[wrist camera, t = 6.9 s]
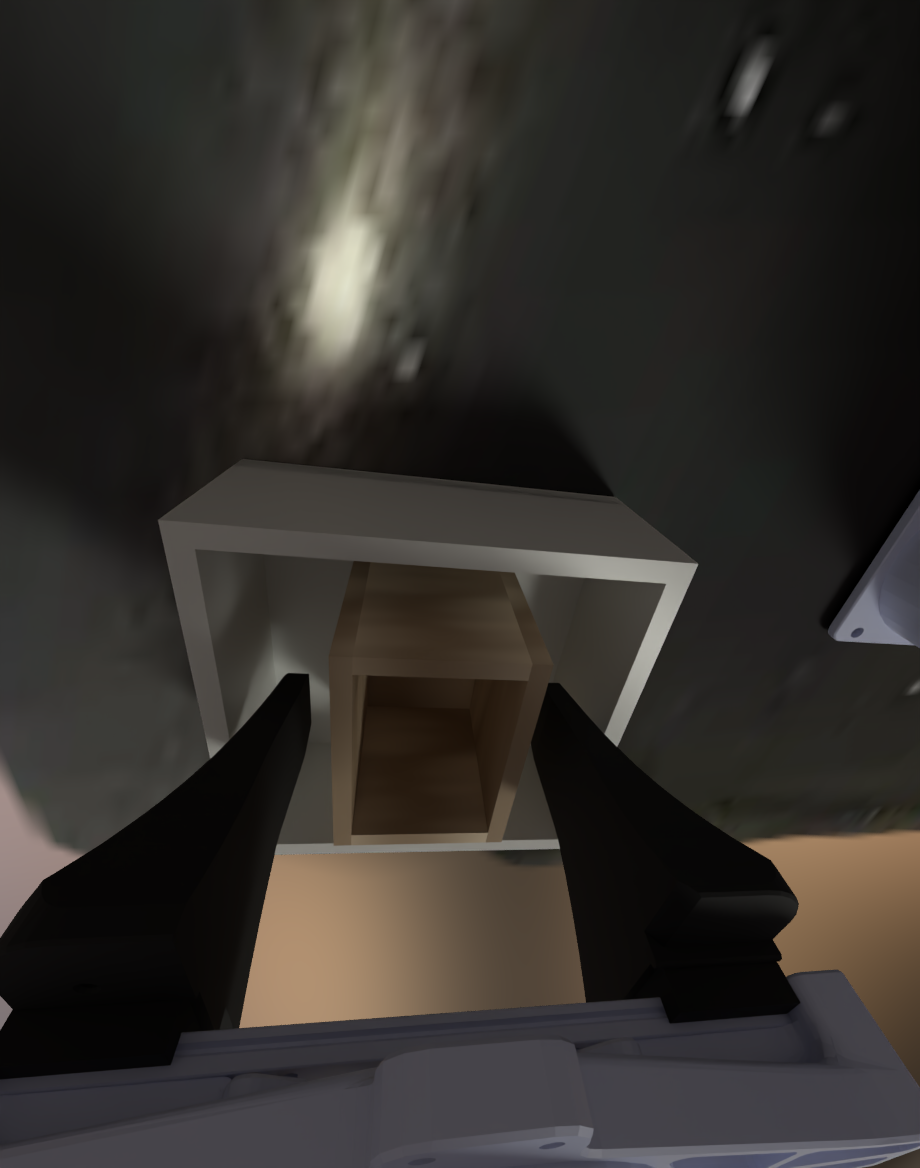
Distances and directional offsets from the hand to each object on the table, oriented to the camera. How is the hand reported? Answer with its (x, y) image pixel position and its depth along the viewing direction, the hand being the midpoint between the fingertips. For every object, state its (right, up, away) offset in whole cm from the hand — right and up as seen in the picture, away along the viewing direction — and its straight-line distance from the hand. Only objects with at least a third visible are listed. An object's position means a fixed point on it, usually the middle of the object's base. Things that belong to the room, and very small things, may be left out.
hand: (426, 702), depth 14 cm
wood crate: (0, +2, +2) cm, 3 cm away
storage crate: (0, +2, +3) cm, 4 cm away
